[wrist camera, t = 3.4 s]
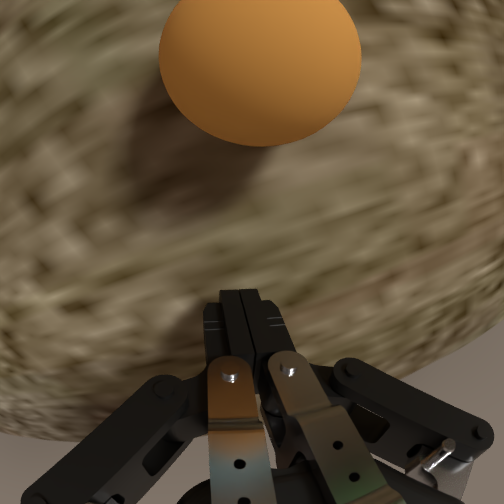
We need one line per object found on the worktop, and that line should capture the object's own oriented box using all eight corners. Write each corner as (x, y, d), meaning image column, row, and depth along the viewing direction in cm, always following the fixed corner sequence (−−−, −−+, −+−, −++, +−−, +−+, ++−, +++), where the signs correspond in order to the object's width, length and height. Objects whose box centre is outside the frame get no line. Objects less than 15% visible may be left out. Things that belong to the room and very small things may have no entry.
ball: (153, 122, 10) (114, 137, 5) (190, -9, 7) (192, -88, 2) (294, 150, 11) (369, 191, 6) (328, 29, 9) (418, -5, 4)
